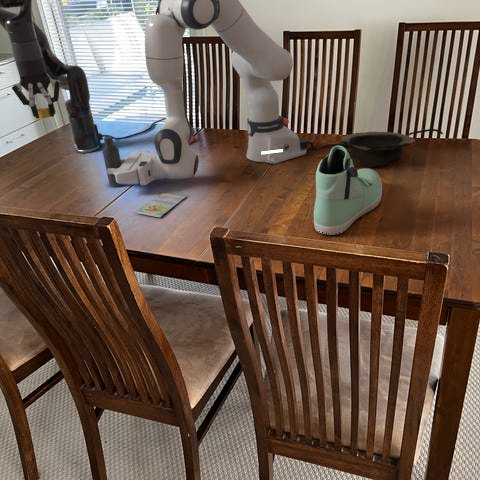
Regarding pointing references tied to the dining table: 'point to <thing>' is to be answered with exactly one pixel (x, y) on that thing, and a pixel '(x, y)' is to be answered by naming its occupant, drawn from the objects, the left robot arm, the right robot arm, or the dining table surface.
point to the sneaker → (343, 192)
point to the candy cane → (191, 139)
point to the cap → (43, 113)
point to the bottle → (111, 159)
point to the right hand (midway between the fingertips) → (111, 166)
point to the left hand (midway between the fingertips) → (45, 116)
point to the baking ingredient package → (160, 205)
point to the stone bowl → (376, 147)
